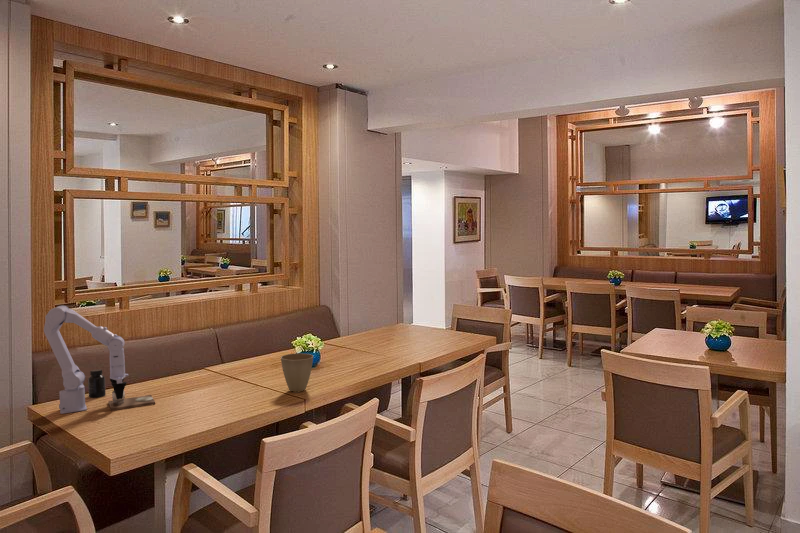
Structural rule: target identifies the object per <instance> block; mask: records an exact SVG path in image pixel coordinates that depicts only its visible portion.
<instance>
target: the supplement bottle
mask: <svg viewBox="0 0 800 533" xmlns="http://www.w3.org/2000/svg"><path fill="white" fill-rule="evenodd" d="M89 373H90V375H89V377H88V379H87V383H88V384H87V386H88V397H89V398H90V399H96V398H97V399H99V398H102V397H103V398H104V397H105V396H106V394H107V392H106V391H107V390H106V377H105V375H103V369H102V368H101V369H100V368H99V369H98V368H97V369H91V370H90V371H89Z"/></svg>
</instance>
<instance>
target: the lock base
mask: <svg viewBox="0 0 800 533" xmlns="http://www.w3.org/2000/svg"><path fill="white" fill-rule="evenodd" d="M152 405H156V401H155V399H154V398H153V396H152V394H147V395H141V396H133V397H125V399H122V400H112V399H111V400H108V406H109V410H110V411H112V412H113V411H119V410H125V409H132V408H138V407H146V406H152Z"/></svg>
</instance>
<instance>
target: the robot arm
mask: <svg viewBox="0 0 800 533" xmlns="http://www.w3.org/2000/svg"><path fill="white" fill-rule="evenodd" d="M44 320H45V322H44V327H43V333H44V336H45V337H46V339H47V342H48V344H49V346H50V348H51V350H52V352H53V354H54V356H55V359H56V360H57V363H58V364H59V367H60V369H61V377H62V379H63V380H62V384H63V387H64V389H63V390H58V393H59V404H58V408H59V413H60V415H62V414H69V413H75V412H81V411H87V410H88V408H87V404H86V396H85V395H86V390H85V387H86V386H85V385H84V382H85V380H86V375H85V373H84V372H83V371H82V370H80V368H79V366H78V365H77V364H75V361H74V360H73V357H72V355H71V353H70V351H69V349H68V346H67V344H66V342H65V340H64V338H63V336H62V334H61V332H60V329H61V328H62V327H63V324H64V323H66V324H67V323H68V324H71V323H73V324H75V325H77V326H79V327H80V328H82V329H84V330H85V331H88V332H89V333H91V338H93V339H94V340H95V341H97V342H98V343H101V344H102V345H104V346H107V349H108V351H109V357H108V358H109V373H110V374H109V378H110V379H109V381H110V382H111V386H112V387H113V388H112V389H113V391H115V394H116V398H117V399H122V398H123V393H124V391H125V387H126V385H127V383H128V382H127V381H124V380H125V378H126V377H129V373H126V365H125V364H126V361H125V358H126V357H125V349H124V347H125V345H126V344H125V343H126V342H125V339H124V338H123V337H122V336H120V335H118V334H116V333H115V334H114V333H113V332H112V331H110V330H108V327H107V326H102V325H100V326H96V325H95V324H94V323H92V322H91V321H90V320H88V319H87V318H85V317H84V316H82V315H81V314H80V313H79V312H77V311H75V310H74V309H72V308H69V307H68V306H67V305H63V304H62V305H58V306H56V307H54V308H51V309H49V311H48V313H46V315H45V318H44Z"/></svg>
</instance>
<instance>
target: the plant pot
mask: <svg viewBox="0 0 800 533" xmlns="http://www.w3.org/2000/svg"><path fill="white" fill-rule="evenodd" d="M280 363H281V368H282V372H283V376H284V380H285V383H286V386H287V388H288V390H290V391H303V390H305V389H306V390H307V387H308V383H309V381H310V378H311V372H312V369H313V368H312V367H313V363H314V355H313V354H310V353H287V354H285V355H281V357H280ZM306 390H305V391H306ZM290 391H289V392H290ZM303 392H304V391H303Z"/></svg>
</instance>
